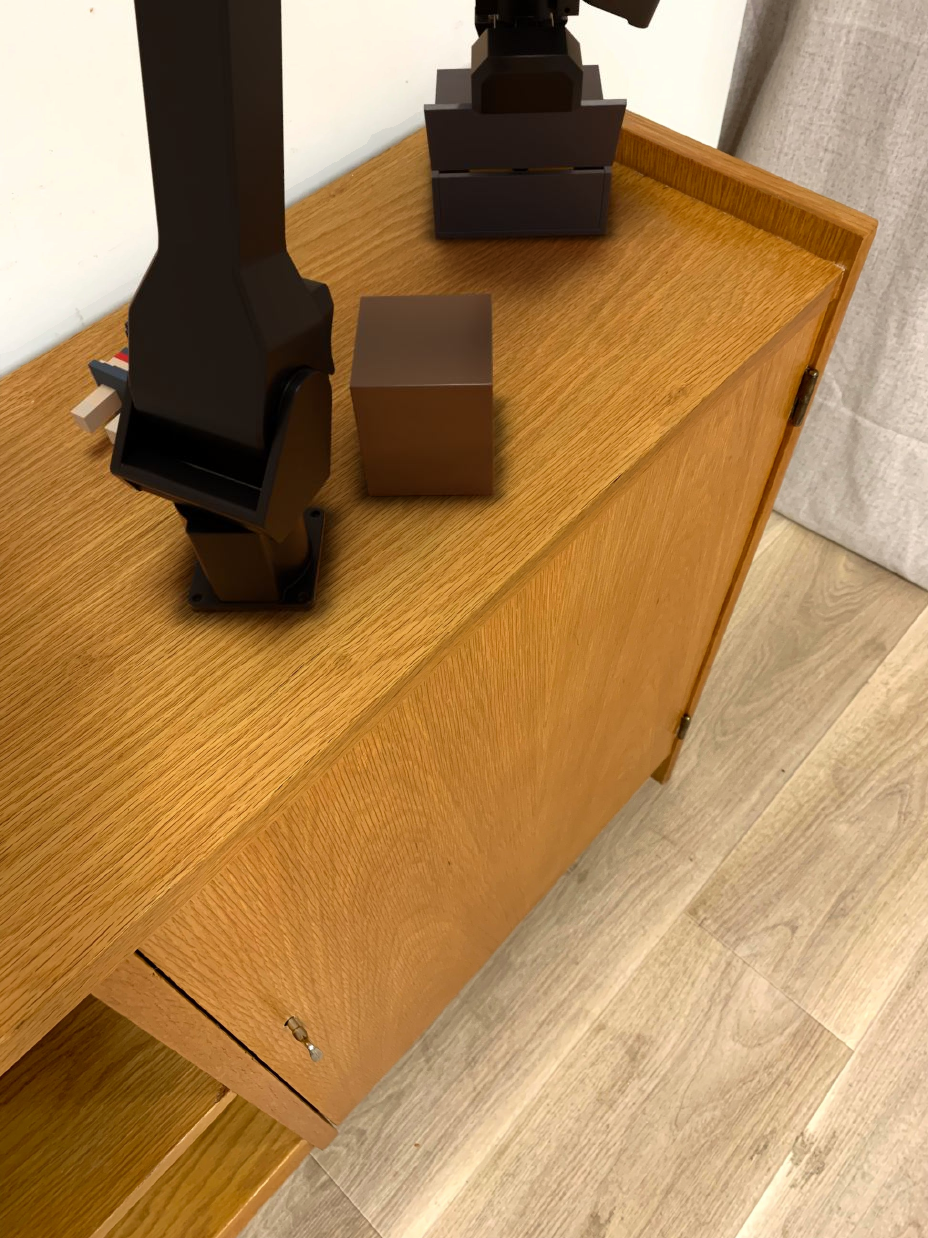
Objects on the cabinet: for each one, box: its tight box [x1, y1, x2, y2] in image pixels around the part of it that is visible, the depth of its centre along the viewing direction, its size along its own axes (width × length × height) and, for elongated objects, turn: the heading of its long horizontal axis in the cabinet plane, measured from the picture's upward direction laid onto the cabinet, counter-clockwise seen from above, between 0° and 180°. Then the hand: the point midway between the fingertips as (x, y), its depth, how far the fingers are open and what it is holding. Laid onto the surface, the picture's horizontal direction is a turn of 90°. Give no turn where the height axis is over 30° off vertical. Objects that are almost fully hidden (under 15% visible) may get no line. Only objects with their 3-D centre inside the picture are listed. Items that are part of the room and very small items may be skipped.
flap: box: [423, 98, 628, 172], centre depth 55 cm, size 6×12×1 cm
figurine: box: [70, 317, 128, 445], centre depth 54 cm, size 9×4×15 cm
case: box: [430, 64, 613, 239], centre depth 64 cm, size 13×12×5 cm
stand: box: [348, 293, 495, 497], centre depth 48 cm, size 7×7×8 cm
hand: (520, 151), depth 61 cm, fingers closed on duster, 4 cm apart
